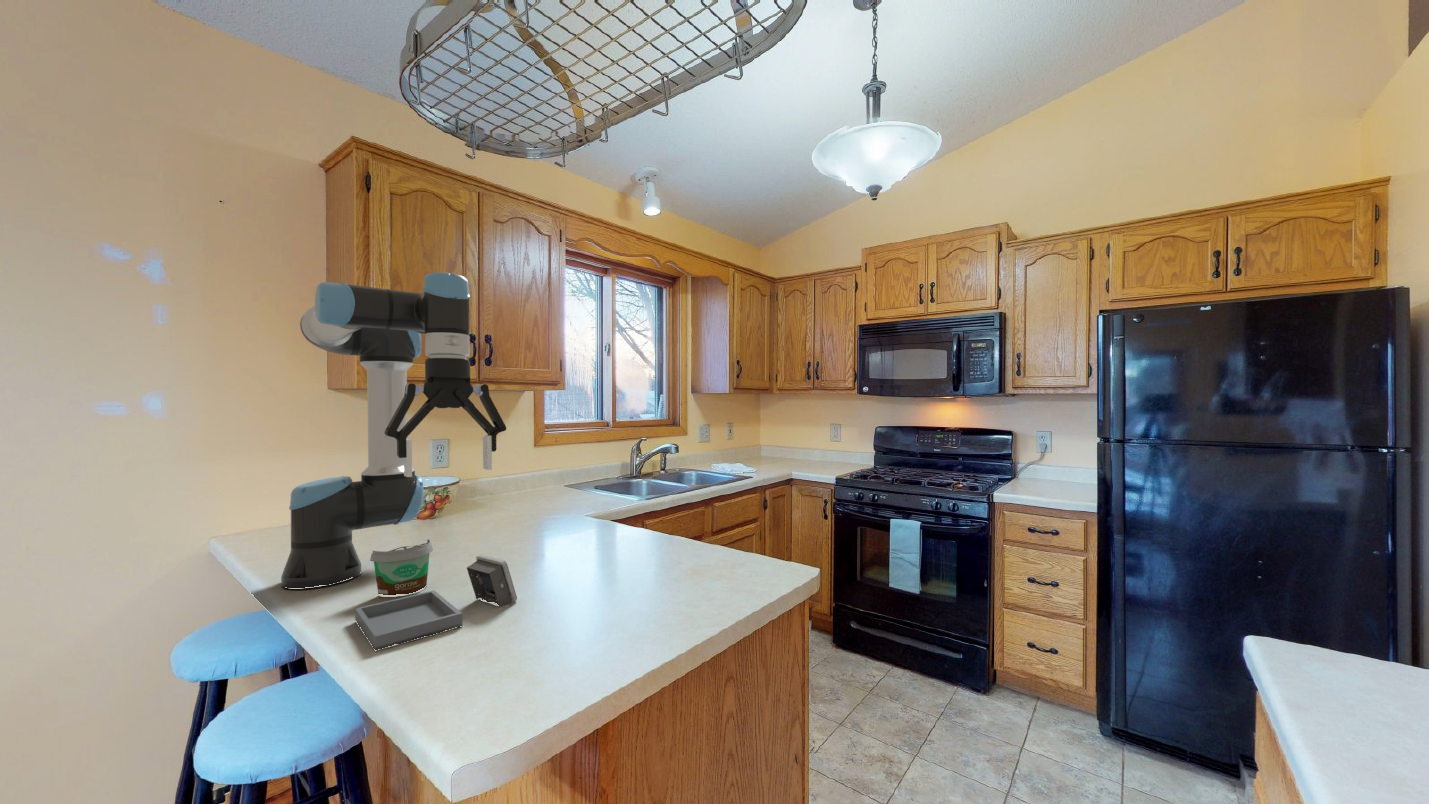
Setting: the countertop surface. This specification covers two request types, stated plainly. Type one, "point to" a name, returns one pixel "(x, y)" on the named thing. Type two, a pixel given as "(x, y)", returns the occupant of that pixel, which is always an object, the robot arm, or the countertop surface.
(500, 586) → the electrical switch
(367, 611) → the back box
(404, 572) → the food container
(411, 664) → the countertop surface
